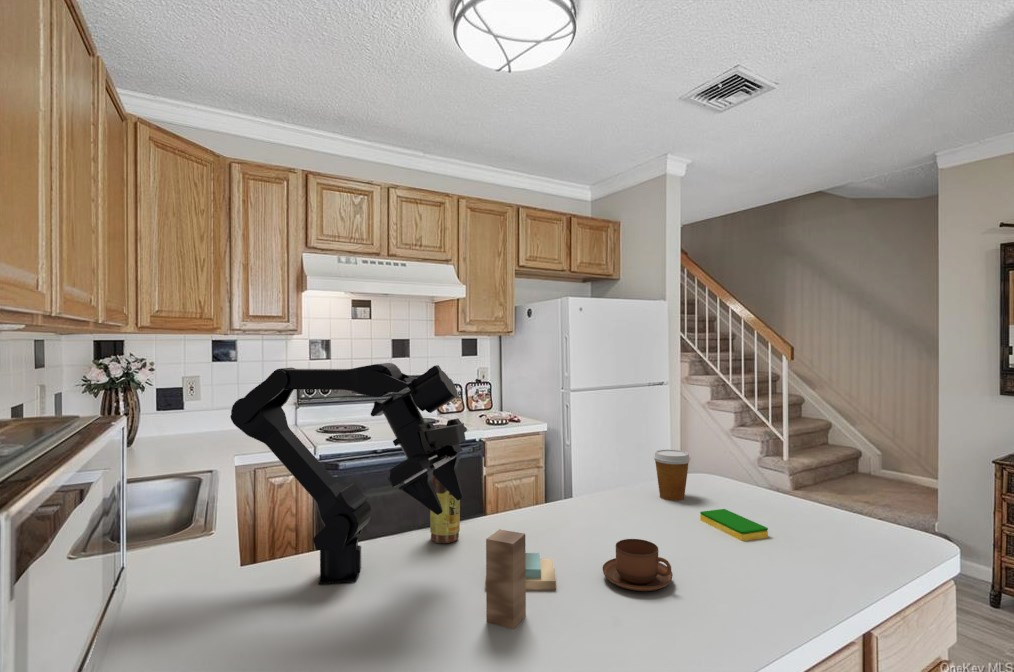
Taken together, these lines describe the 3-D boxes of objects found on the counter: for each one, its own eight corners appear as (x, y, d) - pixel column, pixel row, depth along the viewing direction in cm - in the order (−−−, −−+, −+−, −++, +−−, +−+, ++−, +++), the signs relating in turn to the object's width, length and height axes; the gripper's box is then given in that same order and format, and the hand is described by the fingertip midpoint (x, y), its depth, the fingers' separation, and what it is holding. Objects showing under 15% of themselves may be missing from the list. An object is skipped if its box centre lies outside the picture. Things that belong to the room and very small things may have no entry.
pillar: (486, 621, 80) (486, 538, 80) (499, 608, 84) (499, 529, 84) (513, 628, 78) (513, 543, 78) (525, 614, 82) (525, 533, 82)
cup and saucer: (673, 572, 97) (673, 538, 97) (671, 602, 85) (671, 564, 85) (607, 563, 101) (607, 531, 101) (597, 591, 89) (597, 555, 89)
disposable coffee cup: (686, 504, 135) (686, 458, 135) (649, 499, 140) (649, 454, 140) (694, 495, 144) (693, 451, 144) (658, 490, 148) (658, 447, 148)
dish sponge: (724, 518, 126) (724, 508, 126) (769, 539, 113) (769, 527, 113) (699, 521, 124) (699, 511, 124) (741, 543, 111) (741, 531, 111)
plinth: (485, 589, 90) (485, 571, 90) (488, 566, 99) (488, 550, 99) (555, 589, 90) (555, 572, 90) (552, 567, 99) (552, 550, 99)
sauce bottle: (454, 546, 109) (454, 449, 109) (426, 543, 110) (425, 448, 110) (463, 534, 115) (463, 443, 115) (436, 532, 117) (436, 442, 117)
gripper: (422, 408, 83) (470, 498, 80) (464, 399, 101) (504, 472, 98) (367, 442, 85) (412, 531, 82) (418, 428, 103) (456, 500, 100)
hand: (450, 506), depth 91 cm, fingers open, 9 cm apart
